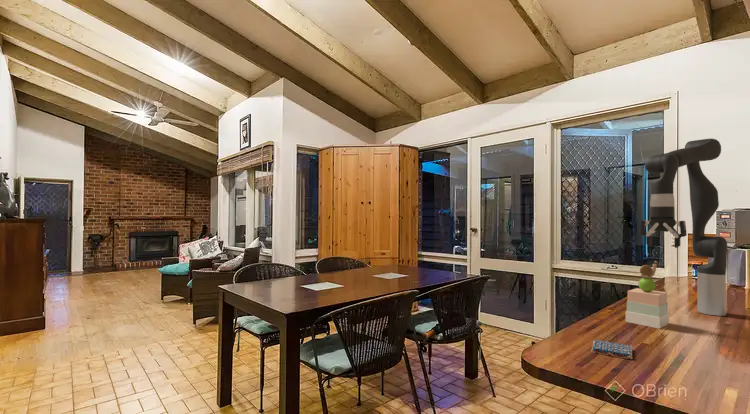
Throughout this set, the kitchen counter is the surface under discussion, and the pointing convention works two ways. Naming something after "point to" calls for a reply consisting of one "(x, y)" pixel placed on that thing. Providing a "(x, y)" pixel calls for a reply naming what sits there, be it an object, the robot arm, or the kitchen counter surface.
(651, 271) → the snail figurine
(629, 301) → the stacked pastel boxes
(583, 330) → the kitchen counter surface
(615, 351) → the woven mat
